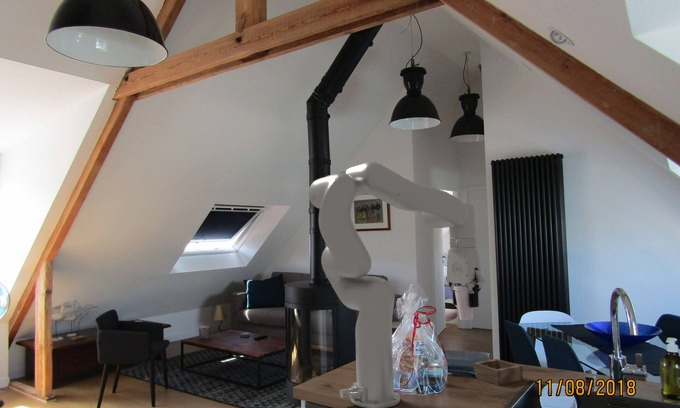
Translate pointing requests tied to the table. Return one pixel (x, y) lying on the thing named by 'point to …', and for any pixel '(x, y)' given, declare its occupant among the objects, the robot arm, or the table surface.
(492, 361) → the box
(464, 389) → the table surface
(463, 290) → the smoothie
